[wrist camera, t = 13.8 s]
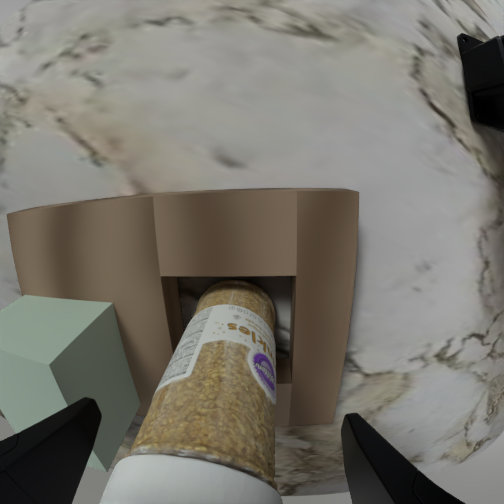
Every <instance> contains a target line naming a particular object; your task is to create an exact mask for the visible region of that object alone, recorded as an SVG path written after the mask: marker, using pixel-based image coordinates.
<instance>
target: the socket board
mask: <svg viewBox="0 0 504 504" xmlns="http://www.w3.org/2000/svg"><path fill="white" fill-rule="evenodd" d="M358 216H359V192H357V191H352V190H348V189H334V188H261V189H227V190H204V191H186V192H171V193H157V194H144V195H133V196H122V197H112V198H103V199H94V200H85V201H77V202H70V203H62V204H55V205H48V206H41V207H35V208H29V209H25V210H21V211H17V212H13V213H9V214H7V219H8V227H9V234H10V241H11V247H12V252H13V257H14V263H15V267H16V272H17V276H18V281H19V285H20V289H21V293H22V296H24V295H31V296H40V297H50V298H60V299H71V300H83V301H96V302H110V303H113V306H114V311H115V315H116V320H117V324H118V328H119V332H120V336H121V340H122V344H123V348H124V352H125V355H126V359H127V362H128V366H129V369H130V372H131V376H132V379H133V382H134V385H135V388H136V391H137V394H138V397H139V400H140V403H141V405H140V407H139V409H138V411H137V413H136V415H139V416H145V417H146V416H147V413H148V410H149V408H150V406H151V403H152V398H153V396H154V394H155V391H156V389H157V387H158V385H159V383H160V381H161V379H162V377H163V375H164V373H165V371H166V369H167V367H168V365H169V362H170V360H171V358H172V356H173V354H174V352H175V350H176V348H177V346H178V344H179V342H180V340H181V338H182V336H183V334H184V327H183V320H182V313H181V305H180V298H179V289H178V281H177V276H292V285H291V323H290V350H289V358H276V405H275V408H274V410H275V412H274V419H275V420H274V427H275V426H303V425H318V424H330V423H332V422H333V417H334V413H335V408H336V403H337V398H338V393H339V388H340V383H341V377H342V372H343V366H344V360H345V354H346V347H347V340H348V333H349V326H350V318H351V310H352V301H353V291H354V281H355V269H356V255H357V239H358Z"/></svg>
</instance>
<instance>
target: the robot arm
mask: <svg viewBox="0 0 504 504" xmlns="http://www.w3.org/2000/svg"><path fill="white" fill-rule="evenodd" d="M463 39H464V40H463ZM457 40H458V44H459V48H460V53H461V57H462V62H463V67H464V72H465V78H466V84H467V90H468V98H469V106H470V115H471V118H472V120H473V121H474V123H476V124H479V125H483V126H486V127H489V128H492V129H496V130H499V131H502V132H504V35H503V36H500V37H499V36H496V37H494V38H492V39H490V40H488V41H486V42H482V41H480V40H478V39H475V38H473V37H471V36H468V35H466V34H463V33H462V34H460V35H458V36H457ZM477 114H478V117H479V118H478V117H477ZM101 420H102V413H101V411H100V409H99V407H98V404H97V402H96V400H95V399H93V398H89V397H84V398H82V399H80V400H78V401H76V402H75V403H73V404H71V405H69V406H67V407H66V408H64V409H62V410H60V411H58V412H56V413H55V414H53V415H51V416H49V417H47V418H45V419H43V420H41V421H40V422H38V423H36V424H34V425H32V426H30V427H28V428H26V429H24V430H22V431H20V433H19V432H18V433H16V434H14V435H13V436H11V437H8V438H6V439H4V440H2V441H0V504H72V502H73V499H74V496H75V494H76V491H77V488H78V485H79V483H80V480H81V477H82V475H83V472H84V470H85V467H86V465H87V462H88V460H89V457H90V455H91V452H92V450H93V447H94V444H95V440H96V437H97V433H98V430H99V426H100V423H101ZM341 438H342V448H343V457H344V467H345V473H346V478H347V482H348V486H349V490H350V495H351V499H352V504H465V503H464V502H462V501H460V500H459V499H457V498H456V497H454V496H452V495H451V494H449V493H448V492H446V491H444V490H443V489H442V488H440V487H439V486H437V485H436V484H435V483H433V482H432V481H431V480H430V479H429V478H427V477H426V476H425V475H424V474H423V473H422V472H421V471H419V470H418V469H417V468H416V467H415V466H414V465H413V464H411V463H410V462H409V461H408V460H407V459H406V458H405V457H404V456H403V455H402V454H400V453H399V452H398V451H397V450H396V449H395V448H394V447H393V446H392V445H391V444H390V443H389V442H388V441H386V440H385V439H384V438H383V437H382V436H381V435H380V434H379V433H378V432H377V431H376V430H375V429H374V428H373V427H372V426H371V425H370V424H368V423H367V422H366V421H365V420H364V419H363V418H362V417H361V416H360V415H359V414H358V413H350V414H346V415H345V417H344V420H343V424H342V428H341Z"/></svg>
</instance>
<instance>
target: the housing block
mask: <svg viewBox="0 0 504 504" xmlns="http://www.w3.org/2000/svg"><path fill="white" fill-rule="evenodd" d="M84 397H89V398H93V399H95V400H96V402H97V404H98V407H99V409H100V411H101V413H102V420H101V423H100V426H99V430H98V433H97V437H96V440H95V444H94V447H93V450H92V452H91V455H90V457H89V460H88V462H87V466H90V467H93V468H96V469H98V470H101V471H105V472H108V470H109V468H110V466H111V464H112V462H113V460H114V458H115V456H116V453H117V451H118V449H119V447H120V445H121V443H122V441H123V439H124V437H125V435H126V433H127V431H128V429H129V427H130V425H131V423H132V421H133V419H134V417H135V415H136V413H137V411H138V409H139V407H140V405H141V403H140V400H139V397H138V394H137V391H136V388H135V385H134V382H133V379H132V376H131V372H130V369H129V366H128V362H127V359H126V355H125V352H124V348H123V344H122V340H121V336H120V332H119V328H118V324H117V320H116V315H115V311H114V306H113V303H110V302H96V301H83V300H71V299H60V298H50V297H40V296H31V295H24V296H22V297H21V298H19V299H17V300H16V301H14V302H13V303H11V304H10V305H8V306H6V307H5V308H3V309H2V310H0V409H1V411H2V413H3V414H4V416H5V417H6V419H7V420H8V422H9V423H10V425H11V426H12V428H13V430H14V431H15V433H18V432H19V433H20V431H22V430H24V429H26V428H28V427H30V426H32V425H34V424H36V423H38V422H40V421H41V420H43V419H45V418H47V417H49V416H51V415H53V414H55V413H56V412H58V411H60V410H62V409H64V408H66V407H67V406H69V405H71V404H73V403H75V402H76V401H78V400H80V399H82V398H84Z"/></svg>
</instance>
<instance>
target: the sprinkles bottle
mask: <svg viewBox="0 0 504 504" xmlns="http://www.w3.org/2000/svg"><path fill="white" fill-rule="evenodd" d="M275 317H276V315H275V310H274V305H273V302H272V300H271V299H270V297H269V295H268V294H267V293H266V292H264V291H263V290H262V288H260V287H259V286H257V285H255V284H253V283H250V282H247V281H245V280H237V279H230V280H224V281H221V282H218V283H216V284H213V285H211V286H210V287H209V288H208V289H207V290H206V291H205V292H204V293H203V294H202V296H201V297H200V299H199V302H198V305H197V310H196V312H195V314H194V316H193V318H192V319H191V321H190V322H189V324H188V326H187V328H186V330H185V331H184V334H183V336H182V338H181V340H180V342H179V344H178V346H177V348H176V350H175V352H174V354H173V356H172V358H171V360H170V362H169V365H168V367H167V369H166V371H165V373H164V375H163V377H162V379H161V381H160V383H159V385H158V387H157V389H156V391H155V394H154V396H153V398H152V403H151V406H150V408H149V410H148V413H147V416H146V417H145V419H144V421H143V423H142V425H141V428H140V430H139V433H138V435H137V436H136V438H135V441H134V443H133V445H132V447H131V450H130V451H129V452H128V453H127V454H125V455H124V458H123V459H122V460H120V461H119V462H118V463H117V464H116V466H115V468H114V470H113V472H112V474H111V477H110V479H109V481H108V483H107V486H106V488H105V491H104V494H103V496H102V498H101V501H100V503H99V504H282V499H281V497H280V495H279V493H278V492H277V485H276V484H275V483H274V476H275V468H274V466H275V457H274V454H275V450H274V447H275V429H274V420H275V419H274V412H275V410H274V408H275V405H276V356H275V340H274V326H275Z"/></svg>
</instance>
